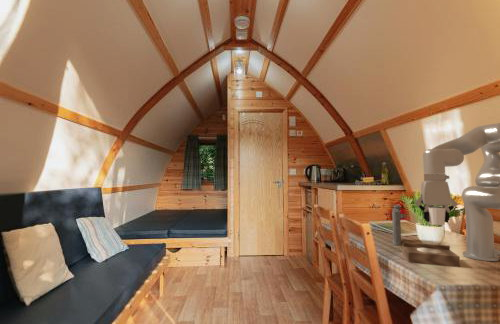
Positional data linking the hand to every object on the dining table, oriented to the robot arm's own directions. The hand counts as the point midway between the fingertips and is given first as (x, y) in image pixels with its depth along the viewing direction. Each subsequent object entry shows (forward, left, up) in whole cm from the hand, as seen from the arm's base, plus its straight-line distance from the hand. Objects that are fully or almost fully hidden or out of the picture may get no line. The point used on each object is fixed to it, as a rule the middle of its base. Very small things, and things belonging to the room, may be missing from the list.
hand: (436, 221), depth 115 cm
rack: (+2, -3, -17) cm, 18 cm away
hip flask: (+9, -36, -18) cm, 41 cm away
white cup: (0, 0, -1) cm, 1 cm away
